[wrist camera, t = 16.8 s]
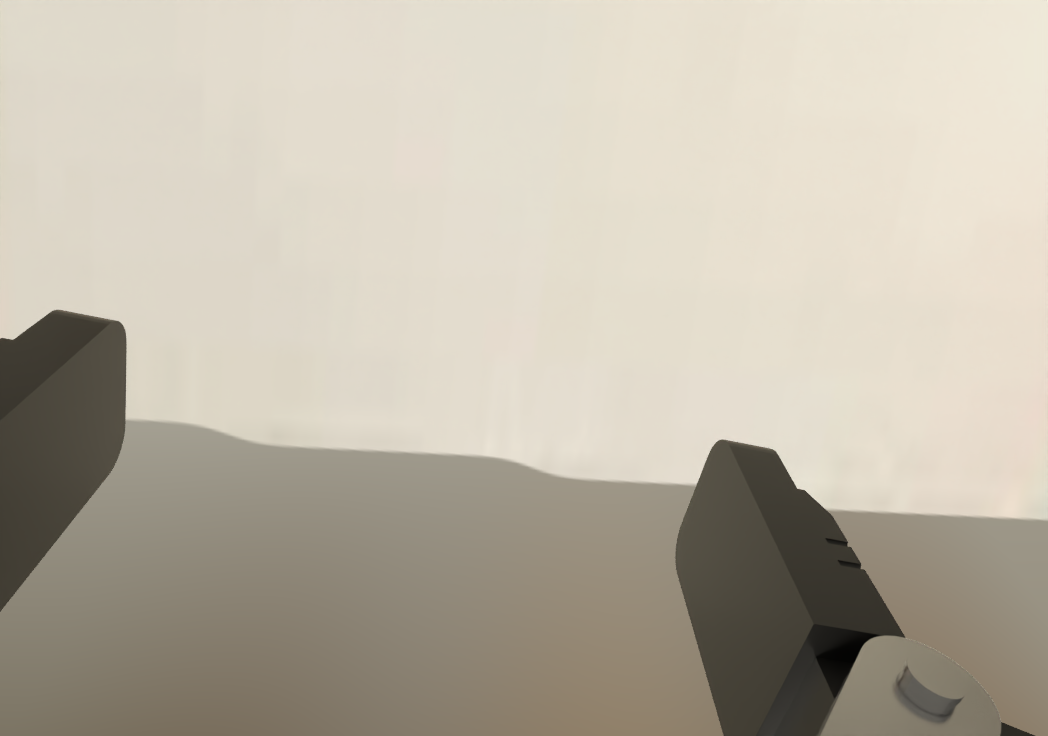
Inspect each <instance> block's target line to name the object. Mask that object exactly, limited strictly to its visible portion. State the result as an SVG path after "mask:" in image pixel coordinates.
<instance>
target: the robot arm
mask: <svg viewBox="0 0 1048 736" xmlns="http://www.w3.org/2000/svg"><path fill="white" fill-rule="evenodd" d="M125 407H126V333H125V329H124V327H123V325H122V324H121V323H120V322H119V321H114V320H109V319H104V318H99V317H94V316H89V315H83V314H78V313H73V312H68V311H63V310H54V311H52V312H50V313H49V314H48V315H46V316H45V317H44V318H42V319H41V320H40V321H38V322H37V323H36V324H34V325H33V326H31V327H30V328H29V329H27V330H26V331H25V332H23V333H22V334H21V335H19V336H18V337H17V338H15V339H14V340H10V339H5V338H1V339H0V611H1V610H2V609H3V607H4V606H5V605H6V603H7V602H8V601H9V600H10V598H11V597H12V596H13V595H14V594H15V592H16V591H17V590H18V588H19V587H20V586H21V585H22V583H23V582H24V581H25V580H26V578H27V577H28V576H29V574H30V573H31V572H32V571H33V570H34V568H35V567H36V566H37V565H38V563H39V562H40V561H41V559H42V558H43V557H44V556H45V554H46V553H47V552H48V551H49V549H50V548H51V547H52V546H53V544H54V543H55V542H56V541H57V539H58V538H59V537H60V535H61V534H62V533H63V532H64V530H65V529H66V528H67V526H68V525H69V524H70V523H71V521H72V520H73V519H74V518H75V516H76V515H77V514H78V513H79V511H80V510H81V509H82V508H83V506H84V505H85V504H86V503H87V501H88V500H89V499H90V498H91V496H92V495H93V494H94V493H95V491H96V490H97V489H98V488H99V486H100V485H101V484H102V482H103V481H104V480H105V479H106V477H107V476H108V475H109V473H110V472H111V471H112V469H113V467H114V465H115V463H116V461H117V459H118V456H119V453H120V450H121V447H122V443H123V439H124V432H125ZM847 543H848V542H847V540H846V538H845V536H844V535H843V533H842V531H841V530H840V528H839V526H838V525H837V523H836V521H835V520H834V518H833V517H832V515H831V514H830V513H829V512H828V511H826V510H825V509H824V508H823V507H822V506H821V505H820V504H819V503H818V502H817V501H816V500H814V499H813V498H812V497H811V496H810V495H809V494H808V493H807V492H806V491H805V490H800V489H797V488H796V486H795V484H794V482H793V481H792V479H791V477H790V475H789V473H788V472H787V470H786V468H785V466H784V465H783V463H782V461H781V459H780V458H779V456H778V454H777V453H776V451H774V450H773V449H769V448H764V447H759V446H754V445H748V444H743V443H738V442H733V441H728V440H719V441H717V442H716V443H715V445H714V446H713V447H712V449H711V451H710V453H709V455H708V458H707V460H706V463H705V465H704V468H703V471H702V473H701V476H700V478H699V481H698V483H697V486H696V489H695V491H694V494H693V496H692V499H691V501H690V504H689V506H688V509H687V512H686V514H685V517H684V519H683V522H682V525H681V527H680V530H679V534H678V538H677V544H676V570H677V574H678V578H679V581H680V585H681V588H682V591H683V595H684V599H685V602H686V606H687V609H688V613H689V616H690V619H691V623H692V626H693V630H694V634H695V637H696V640H697V644H698V648H699V651H700V655H701V658H702V662H703V665H704V668H705V672H706V675H707V679H708V682H709V686H710V689H711V693H712V696H713V700H714V703H715V707H716V710H717V714H718V717H719V721H720V724H721V728H722V731H723V734H724V736H1034V735H1032V734H1029V733H1027V732H1024V731H1022V730H1019V729H1017V728H1014V727H1012V726H1009V725H1007V724H1005V723H1002V722H1001V720H1000V715H999V712H998V710H997V708H996V706H995V704H994V702H993V701H992V699H991V697H990V696H989V694H988V693H987V692H986V691H985V689H984V688H983V687H982V686H981V684H980V683H978V681H977V680H976V679H975V678H974V677H973V676H972V675H970V674H969V673H968V672H967V671H966V670H965V669H964V668H962V667H961V666H960V665H958V664H957V663H956V662H954V661H953V660H952V659H950V658H948V657H947V656H945V655H944V654H942V653H940V652H939V651H936V650H935V649H933V648H931V647H929V646H927V645H924V644H922V643H919V642H917V641H914V640H910V639H907V638H905V636H904V634H903V633H902V631H901V629H900V628H899V626H898V624H897V623H896V621H895V619H894V618H893V616H892V614H891V613H890V611H889V609H888V608H887V606H886V604H885V603H884V601H883V599H882V598H881V596H880V594H879V593H878V591H877V589H876V588H875V586H874V585H873V583H872V581H871V580H870V578H869V576H868V575H867V573H866V571H865V570H863V569H860V568H861V563H860V561H859V560H858V558H857V556H856V555H855V553H854V551H853V550H852V548H851V547H847Z"/></svg>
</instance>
